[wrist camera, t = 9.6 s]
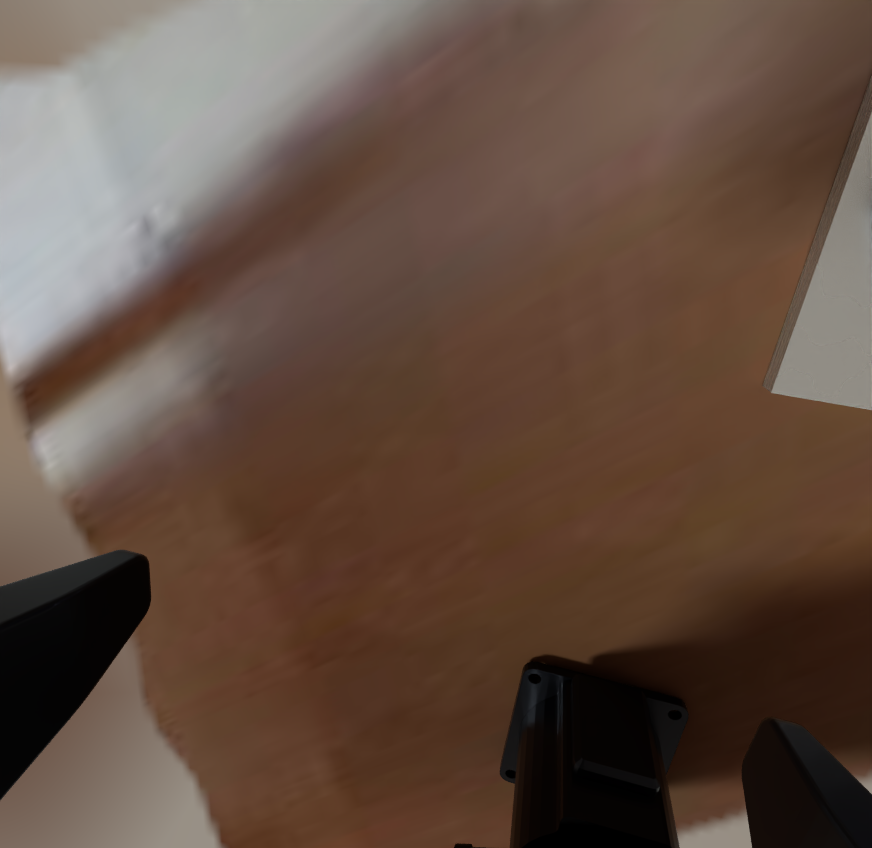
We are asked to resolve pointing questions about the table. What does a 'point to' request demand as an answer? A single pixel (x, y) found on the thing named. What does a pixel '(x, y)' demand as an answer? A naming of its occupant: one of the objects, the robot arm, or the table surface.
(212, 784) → the table surface
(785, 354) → the collar
